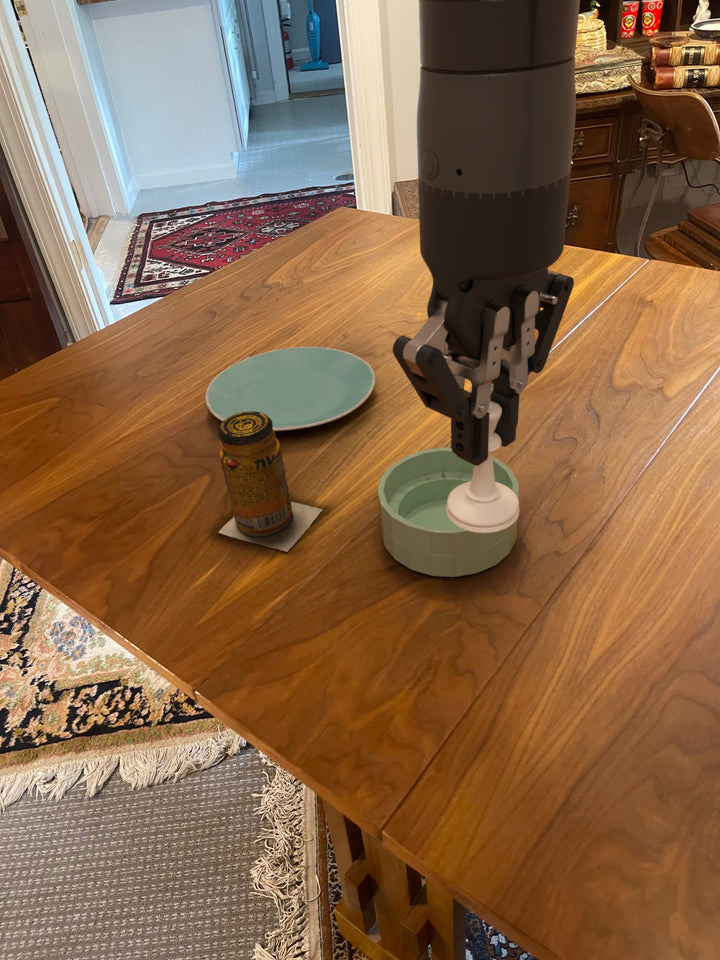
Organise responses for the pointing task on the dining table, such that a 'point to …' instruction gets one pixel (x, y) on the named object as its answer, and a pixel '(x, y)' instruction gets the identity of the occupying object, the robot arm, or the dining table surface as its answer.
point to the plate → (293, 386)
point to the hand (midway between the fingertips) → (484, 448)
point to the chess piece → (484, 492)
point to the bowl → (437, 515)
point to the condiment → (259, 484)
